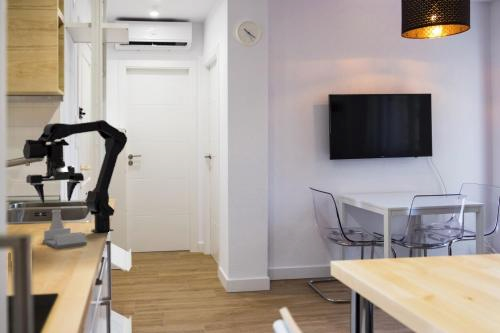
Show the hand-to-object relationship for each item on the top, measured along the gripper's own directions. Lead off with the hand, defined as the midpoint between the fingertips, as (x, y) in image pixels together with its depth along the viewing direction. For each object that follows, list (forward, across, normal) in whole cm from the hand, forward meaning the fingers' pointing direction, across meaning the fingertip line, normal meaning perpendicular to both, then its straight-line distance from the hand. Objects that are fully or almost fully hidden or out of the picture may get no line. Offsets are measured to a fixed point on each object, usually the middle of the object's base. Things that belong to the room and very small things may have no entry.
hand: (56, 202), depth 191 cm
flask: (+13, 0, 0) cm, 13 cm away
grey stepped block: (+13, -2, -13) cm, 18 cm away
